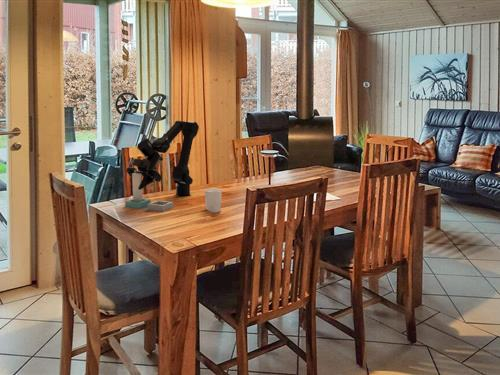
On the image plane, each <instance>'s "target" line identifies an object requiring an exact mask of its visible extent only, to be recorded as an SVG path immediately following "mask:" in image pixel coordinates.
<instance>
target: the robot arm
mask: <svg viewBox="0 0 500 375" xmlns="http://www.w3.org/2000/svg"><path fill="white" fill-rule="evenodd" d="M199 129H200V128H199V124H198V122H197V121H187V120H186V121H184V120H175V121H174V124H172V126H170V128H169V129H168V130H167V131H166V133H165V134H163V135H161V137H159V138H156V139H155V140H154V141H153V142H151V141H150V139H149V138H144V139H143V140H141V141H140V142H138V144H137V145H136V146H137V148H136V149H138V151H139V152H140V153H141V154H142V155H143V156H144V157H146V158H143V159H141V158H140V159H139V158H133V160H132V161H133V162H132V167H131V166H130V167H127V168H126V169H125V172H126V173H127V174H128V175H129V177H131V178H132V174H133V173H142V182H141V184H140V186H139V188H138V189H139V190H141V189H142V190H143V189H144V188H145V187H147V186H149V185H150V184H152V183H154V182H158V183H161V181H162V175H161V173H159V171H158V170H157V167H156V166H157V164H158V163H159V161H164V159H163V158H164V157H163V155H162V154H166V153H167V152H168V151H169V149H170V147H171V143H172V142H173V140H175V138H177V137H178V135H179V134H180V133H182V136H183V138H182V143H181V148H180V154H179V159H178V162H177V163H178V164H177V165H174V166H173V168H172V171H171V172H172V173H171V174H172V176H171V177H172V179H173V184H176V186H175V194H176V195H177V196H178V197H188V196H192V195H191V188H190V187H191V185H193V182H194V180H193V178H192V177H191V176H190V169H189V162H190V155H191V150H192V147H193V146H192V145H193V142H194V141H193V140H194V138H196V136H197V135H198V132H199ZM133 166H134V167H133ZM154 180H155V181H154ZM130 188H131V190H133V183H132V182H131V185H130Z"/></svg>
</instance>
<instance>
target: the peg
mask: <svg viewBox="0 0 500 375" xmlns="http://www.w3.org/2000/svg"><path fill="white" fill-rule="evenodd" d="M131 178H132V181H131V184H132V183H133V189H132V199H133V202H142V201H143V199H144V197H143V188H142V189H141V190H139V189H138V188H139V186H140V184H141V182H142V180H143V176H142V173H133V174H132V177H131Z"/></svg>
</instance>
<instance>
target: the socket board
mask: <svg viewBox="0 0 500 375" xmlns="http://www.w3.org/2000/svg"><path fill="white" fill-rule="evenodd" d="M124 203H125V204H124V206H123V208H127V209H135V210H143V211H151V212H156V213H157V212H158V213H164V212H167V211H168V210H169V211H170V210H171V209H173V208H175V206H174V202H173V201H166V200H155V201H152V202H151V199H149V198H143V201H142V202H133V198H132V199H128V200H125V201H124Z"/></svg>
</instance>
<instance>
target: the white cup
mask: <svg viewBox="0 0 500 375" xmlns="http://www.w3.org/2000/svg"><path fill="white" fill-rule="evenodd" d="M222 190H223V189H221V188H216V187H215V188H207V189H206V188H205V189H204V199H205V200H204V202H205V209H206V211H208V212H210V213H212V214H213V213H221V208H222V192H223V191H222Z"/></svg>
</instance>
